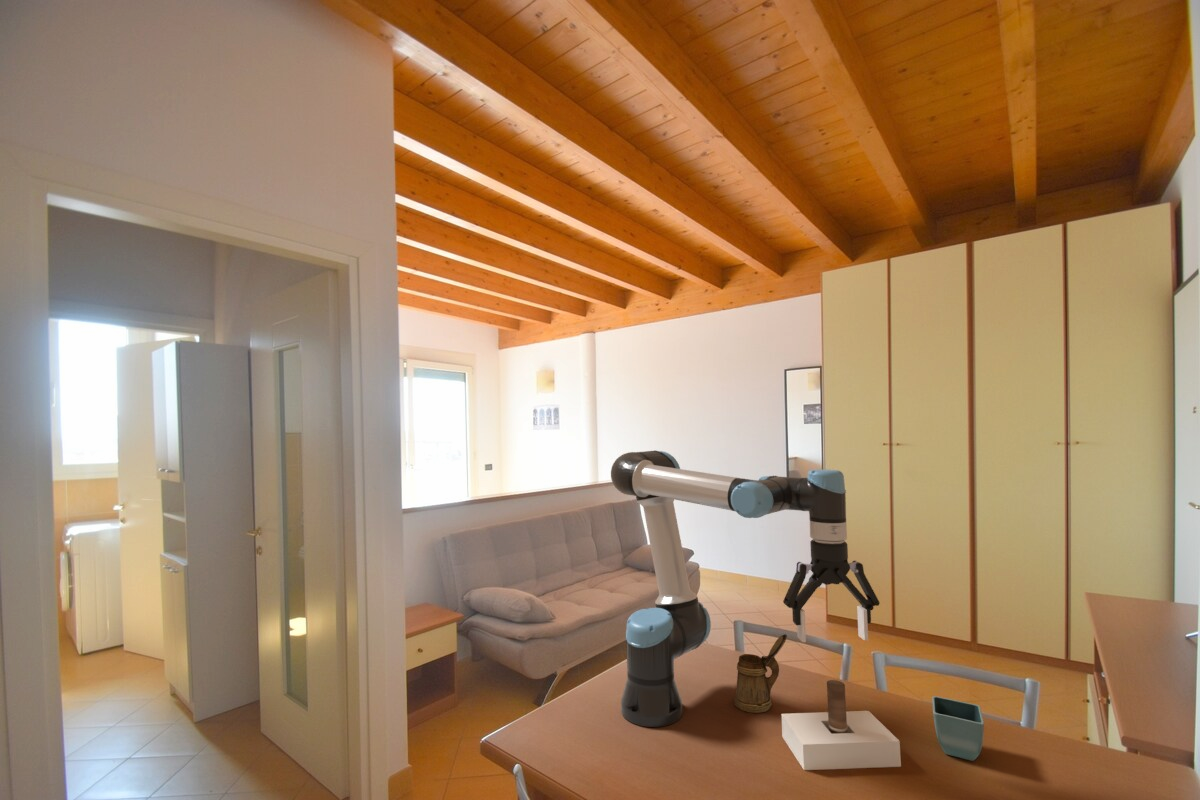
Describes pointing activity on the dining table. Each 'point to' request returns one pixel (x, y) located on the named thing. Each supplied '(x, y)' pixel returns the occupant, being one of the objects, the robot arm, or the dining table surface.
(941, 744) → the flower pot
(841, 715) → the walnut peg
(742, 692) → the wooden mug
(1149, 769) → the dining table surface
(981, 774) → the dining table surface
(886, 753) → the socket block
